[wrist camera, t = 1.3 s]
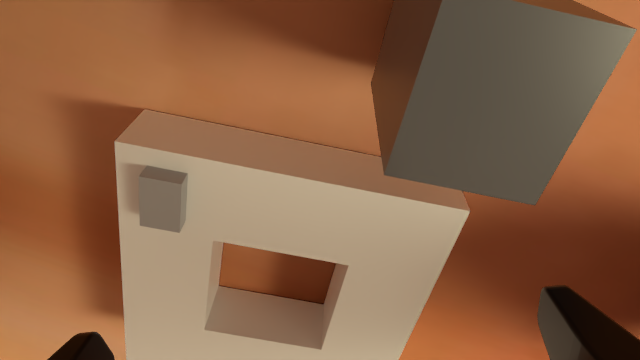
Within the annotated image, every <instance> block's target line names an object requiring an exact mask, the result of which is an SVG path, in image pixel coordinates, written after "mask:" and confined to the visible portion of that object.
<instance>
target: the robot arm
mask: <svg viewBox="0 0 640 360" xmlns="http://www.w3.org/2000/svg"><path fill="white" fill-rule="evenodd" d="M537 317H538V324H539V328H540V331H541V334H542V337H543V340H544V343H545V346H546V349H547V352H548V355H549V358H550V360H640V340H639V339H638V338H636V337H635V336H634V335H632V334H631V333H630V332H628V331H627V330H626V329H624V328H623V327H622V326H620V325H619V324H618V323H616V322H615V321H614V320H612V319H611V318H610V317H608V316H607V315H606V314H604V313H603V312H602V311H600V310H599V309H598V308H596V307H595V306H594V305H592V304H591V303H590V302H588V301H587V300H586V299H584V298H583V297H582V296H580V295H579V294H578V293H576V292H575V291H574V290H572V289H571V288H570V287H568V286H566V285H555V286H546V287H544V288H543V289H542V290H541V294H540V301H539V308H538V315H537ZM47 360H115V359H114V355H113V353H112V352H111V350H110V349H109V347H108V346H107V344H106V343H105V341H104V340H103V338H102V337H101V335H100V334H99V333H97V332H86V333H79V334H76V335H75V336H73V337H72V338H71V339H70V340H69V341H68V342H66V343H65V344H64V345H63V346H62V347H61V348H60V349H59V350H58V351H56V352H55V353H54V354H53V355H52V356H51V357H50V358H49V359H47Z"/></svg>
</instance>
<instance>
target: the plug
mask: <svg viewBox="0 0 640 360" xmlns="http://www.w3.org/2000/svg"><path fill="white" fill-rule="evenodd" d="M636 30H637V29H635V28H633V27H630V26H628V25H626V24H624V23H622V22H619V21H617V20H615V19H613V18H611V17H608V16H606V15H604V14H602V13H600V12H597V11H595V10H593V9H591V8H589V7H586V6H584V5H582V4H580V3H578V2H575V1H573V0H394V2H393V6H392V9H391V13H390V16H389V20H388V24H387V27H386V31H385V34H384V38H383V42H382V45H381V49H380V52H379V56H378V60H377V63H376V67H375V70H374V74H373V78H372V81H371V87H372V94H373V102H374V109H375V116H376V123H377V130H378V137H379V144H380V151H381V158H382V165H383V172H384V175H386V176H391V177H396V178H401V179H406V180H411V181H416V182H421V183H426V184H431V185H436V186H441V187H446V188H451V189H456V190H461V191H466V192H471V193H476V194H481V195H486V196H491V197H496V198H501V199H506V200H511V201H516V202H521V203H526V204H531V205H536V203H537V201H538V199H539V198H540V196H541V194H542V193H543V191H544V189H545V187H546V186H547V184H548V182H549V180H550V179H551V177H552V175H553V174H554V172H555V170H556V168H557V167H558V165H559V163H560V161H561V160H562V158H563V156H564V155H565V153H566V151H567V149H568V148H569V146H570V144H571V142H572V141H573V139H574V137H575V136H576V134H577V132H578V130H579V129H580V127H581V125H582V123H583V122H584V120H585V118H586V117H587V115H588V113H589V111H590V110H591V108H592V106H593V104H594V103H595V101H596V99H597V98H598V96H599V94H600V92H601V91H602V89H603V87H604V85H605V84H606V82H607V80H608V79H609V77H610V75H611V73H612V72H613V70H614V68H615V66H616V65H617V63H618V61H619V60H620V58H621V56H622V54H623V53H624V51H625V49H626V47H627V46H628V44H629V42H630V41H631V39H632V37H633V35H634V34H635V32H636Z"/></svg>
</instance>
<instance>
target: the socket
mask: <svg viewBox="0 0 640 360" xmlns="http://www.w3.org/2000/svg"><path fill="white" fill-rule="evenodd" d="M114 143H115V161H116V179H117V198H118V216H119V234H120V253H121V271H122V289H123V308H124V326H125V344H126V360H398V359H399V357H400V355H401V353H402V351H403V349H404V347H405V345H406V343H407V341H408V339H409V337H410V335H411V333H412V331H413V328H414V326H415V324H416V322H417V320H418V318H419V316H420V314H421V312H422V310H423V308H424V306H425V304H426V302H427V300H428V298H429V295H430V293H431V291H432V289H433V287H434V285H435V283H436V281H437V279H438V277H439V275H440V273H441V271H442V269H443V267H444V265H445V262H446V260H447V258H448V256H449V254H450V252H451V250H452V248H453V246H454V244H455V242H456V240H457V238H458V236H459V234H460V232H461V229H462V227H463V225H464V223H465V221H466V219H467V217H468V215H469V213H470V209H469V207H468V204H467V202H466V199H465V197H464V194H463V192H462V191H461V190H456V189H451V188H446V187H441V186H436V185H431V184H426V183H421V182H416V181H411V180H406V179H401V178H396V177H391V176H386V175H384V172H383V165H382V158H381V157H379V156H374V155H369V154H364V153H359V152H354V151H349V150H344V149H339V148H334V147H329V146H324V145H319V144H314V143H310V142H305V141H300V140H295V139H290V138H285V137H280V136H275V135H270V134H265V133H260V132H255V131H250V130H245V129H240V128H236V127H231V126H226V125H221V124H216V123H211V122H206V121H201V120H196V119H191V118H186V117H181V116H176V115H171V114H167V113H162V112H157V111H152V110H147V109H144V110H143V111H142V112H141V113H140V115H139V116H138V117H137V118H136V119H135V120H134V121H133V122H132V123H131V124H130V125H129V126H128V127H127V128H126V129H125V130H124V132H123V133H122V134H121V135H120V136H119V137H118V138H117V139H116V140H115V141H114ZM223 242H224V243H230V244H235V245H240V246H246V247H251V248H257V249H262V250H267V251H273V252H278V253H284V254H289V255H295V256H300V257H305V258H311V259H316V260H322V261H327V262H333V263H336V265H335V269H334V272H333V275H332V278H331V282H330V285H329V288H328V292H327V295H326V298H325V302H324V304H318V303H312V302H307V301H301V300H295V299H290V298H284V297H279V296H273V295H267V294H262V293H256V292H250V291H245V290H239V289H233V288H228V287H222V286H219V278H220V269H221V260H222V251H223Z"/></svg>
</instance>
